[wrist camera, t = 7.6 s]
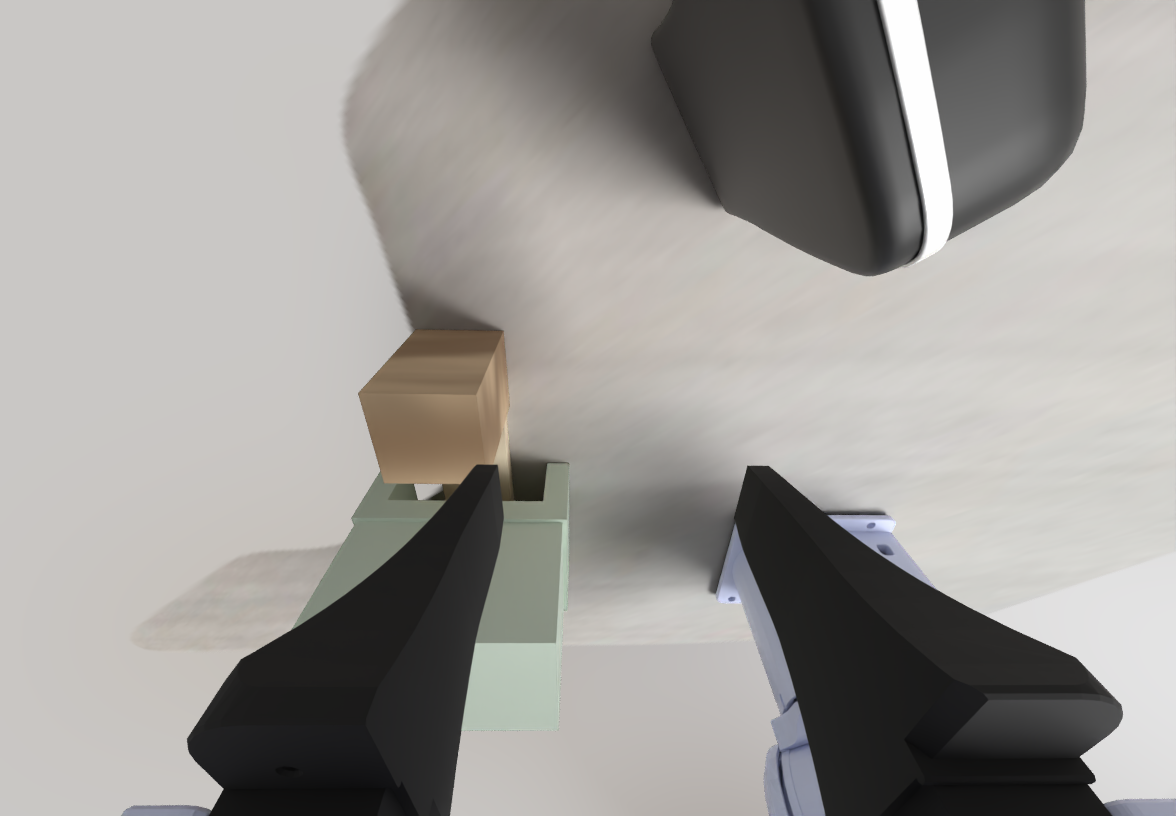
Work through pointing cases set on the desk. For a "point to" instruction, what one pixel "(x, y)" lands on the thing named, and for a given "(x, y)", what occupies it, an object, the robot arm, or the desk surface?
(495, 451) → the wooden rectangular block
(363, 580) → the robot arm
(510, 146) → the desk surface
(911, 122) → the battery charger
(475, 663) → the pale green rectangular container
